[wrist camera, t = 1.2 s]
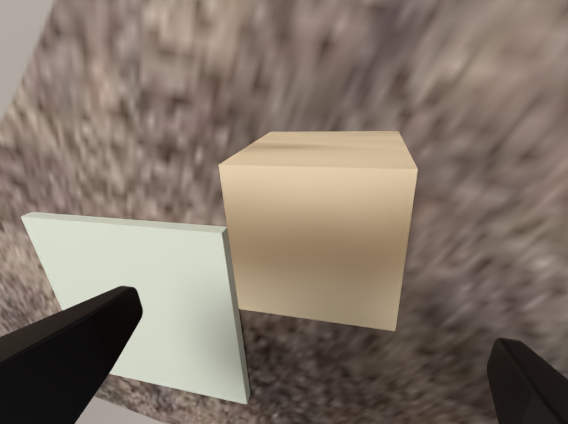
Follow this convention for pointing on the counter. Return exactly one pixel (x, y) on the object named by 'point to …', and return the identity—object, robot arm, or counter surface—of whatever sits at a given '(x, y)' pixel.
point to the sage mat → (155, 294)
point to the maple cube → (321, 224)
